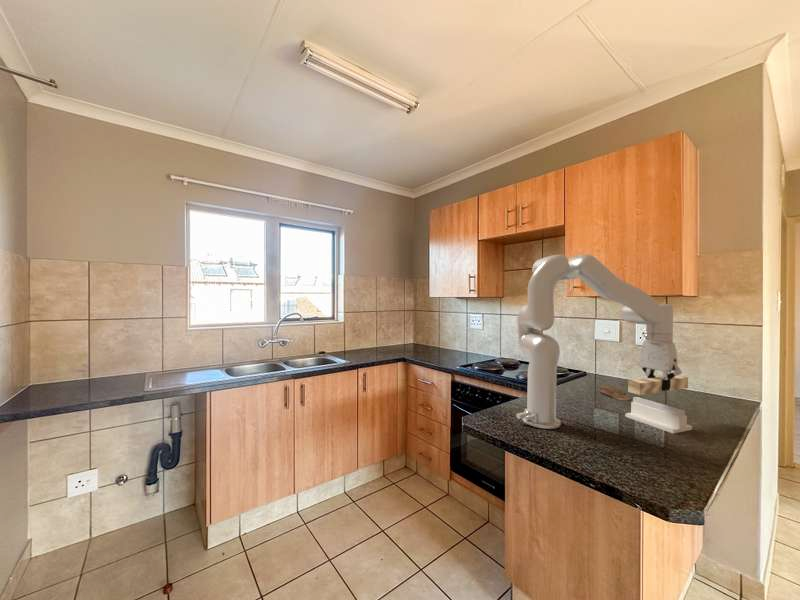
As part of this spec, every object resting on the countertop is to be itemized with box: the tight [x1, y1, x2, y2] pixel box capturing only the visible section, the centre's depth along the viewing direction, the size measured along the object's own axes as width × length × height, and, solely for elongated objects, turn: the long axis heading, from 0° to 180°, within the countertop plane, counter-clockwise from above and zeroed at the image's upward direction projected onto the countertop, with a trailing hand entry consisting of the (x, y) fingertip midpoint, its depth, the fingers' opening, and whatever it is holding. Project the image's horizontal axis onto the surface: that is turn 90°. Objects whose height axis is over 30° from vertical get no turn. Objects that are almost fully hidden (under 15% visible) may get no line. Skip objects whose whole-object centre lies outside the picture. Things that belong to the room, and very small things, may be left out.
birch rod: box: [627, 375, 689, 396], centre depth 118 cm, size 26×4×4 cm, turn 110°
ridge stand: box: [624, 396, 693, 434], centre depth 118 cm, size 10×16×7 cm, turn 20°
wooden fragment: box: [599, 384, 633, 402], centre depth 155 cm, size 26×11×1 cm, turn 161°
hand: (658, 387), depth 118 cm, fingers closed on birch rod, 4 cm apart
